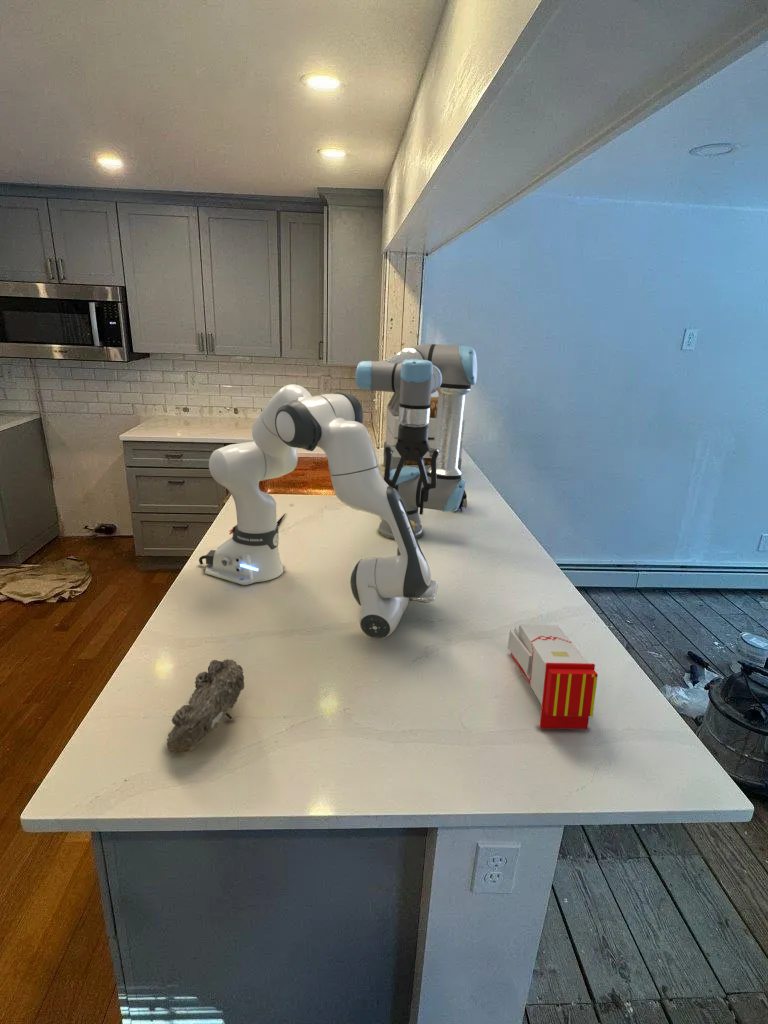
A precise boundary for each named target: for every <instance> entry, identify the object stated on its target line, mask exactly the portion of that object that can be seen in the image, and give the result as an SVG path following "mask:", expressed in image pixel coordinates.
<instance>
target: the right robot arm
mask: <svg viewBox="0 0 768 1024" xmlns="http://www.w3.org/2000/svg"><path fill="white" fill-rule="evenodd" d="M477 378H478V359H477V353H476V351H475V349H474V348H473V347H471V346H466V345H461V344H459V345H455V344H440V343H439V344H438V343H437V344H436V343H435V344H434V343H423V344H422V343H421V344H417V345H413V346H409V347H405V348H403V349H401V350H400V351H399V352H398V353H397V354H396V355H392V356H390V357H387V358H383V359H381V360H378V361H374V360H373V361H372V360H361V361H359V362H358V364H357V366H356V370H355V384H356V387H357V388H359V390H363V391H368V392H371V391H373V392H386V393H394V392H396V393H400V406H399V422H400V423H401V424H399V425H398V441H397V443H396V445H392V446H390V445H387V446H386V448H385V452H386V456H387V457H386V465H385V466H384V474H383V479H384V481H385V482H386V483H387V484H388V485H389V486H390V487H392V488H395V489H396V490H397V492H398V493H399V495H400V497H401V499H402V502H403V504H404V506H405V509H406V511H407V514H408V517H409V519H410V520H412V521H414V522H415V530H414V533H415V536H416V538H417V539H418V538H420V537H421V536H422V535H423V525H422V524H421V518H420V515H423V513H424V509H426V510H434V511H439V512H440V511H442V512H448V513H449V512H450V513H454V512H456V511H457V510H458V508H459V505H460V503H461V500H462V496H463V493H464V490H465V489H466V479H464V478H462V470H461V471H460V470H459V469H458V459H459V449H460V439H461V440H462V438H461V430H462V420H463V419H464V408H465V400H466V395H467V394H468V393H469V392H470V391H471V389H472V386H474V385H476V384H477V381H478V380H477ZM436 392H437V393H438V396H437V397H438V406H437V417H436V428H435V439H434V449H433V448H430V447H429V445H428V428H429V427H428V426H427V425H426V424H428V423H429V414H430V398H431V397H432V395H433V394H434V393H436ZM395 449H396V450H397V451H398V453H399V454H400V456H401V459H400V461H399V464H398V466H397V468H396V469H393V470H391V463H392V454H393V453H394V452H395ZM427 452H429V456H430V457H432V459H431V465H430V466H429V468H427V470H426V466H424V462H423V456H424V455H425V454H426V453H427ZM405 461H414V462H417V465H418V466H404V467H403V464H404V462H405ZM459 509H460V508H459ZM378 533H379V534H380V535H381V536H382V537H385V538H387V539H389V540H395V538H394V535H393V533H392V530H391V527H390V525H389V524H388V523H387V521H385V520H384V519H383V518H381V522H379V525H378Z"/></svg>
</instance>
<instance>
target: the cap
mask: <svg viewBox="0 0 768 1024" xmlns="http://www.w3.org/2000/svg"><path fill="white" fill-rule="evenodd" d="M410 522H411V525H412V527H413V530H415V522H414V521H412V520H410Z"/></svg>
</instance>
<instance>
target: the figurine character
mask: <svg viewBox="0 0 768 1024" xmlns="http://www.w3.org/2000/svg"><path fill="white" fill-rule="evenodd" d="M467 495H468V494H467V493H466V490H465V489H464V493H463V496H462V500H461V503H460V505H459V508H458V509H459V510H460V512H463V509H464V508H465V509H466V508H467V506H468V499H467V497H468V496H467ZM458 509H457V510H458Z"/></svg>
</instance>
